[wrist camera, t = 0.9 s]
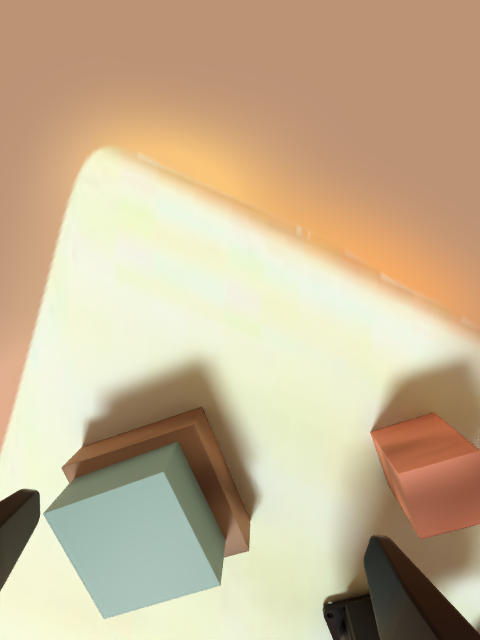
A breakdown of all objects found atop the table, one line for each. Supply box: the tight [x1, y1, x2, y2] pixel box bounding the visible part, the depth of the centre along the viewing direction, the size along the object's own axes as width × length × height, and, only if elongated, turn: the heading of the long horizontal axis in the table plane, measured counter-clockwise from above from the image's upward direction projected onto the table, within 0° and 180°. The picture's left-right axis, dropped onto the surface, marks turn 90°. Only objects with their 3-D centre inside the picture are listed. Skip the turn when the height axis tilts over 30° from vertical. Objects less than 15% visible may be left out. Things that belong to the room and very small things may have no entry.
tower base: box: [62, 407, 250, 557], centre depth 22 cm, size 10×10×3 cm
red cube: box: [370, 413, 480, 539], centre depth 19 cm, size 4×4×4 cm
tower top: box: [43, 441, 226, 619], centre depth 19 cm, size 8×8×3 cm
